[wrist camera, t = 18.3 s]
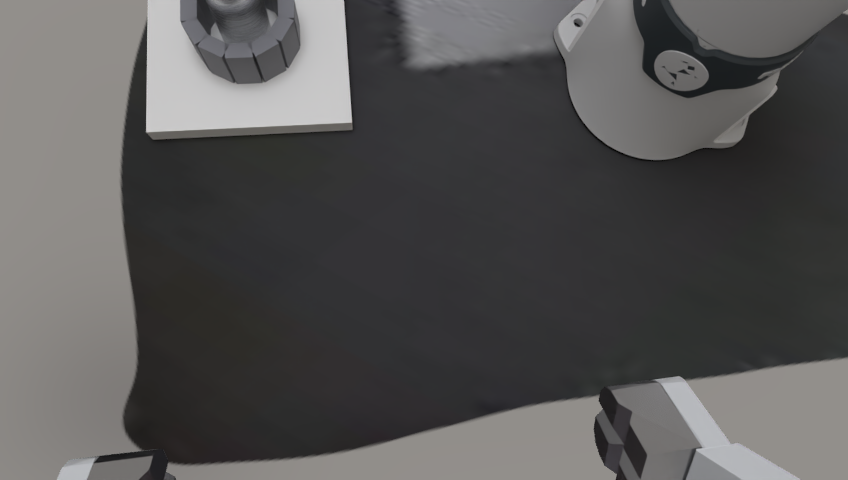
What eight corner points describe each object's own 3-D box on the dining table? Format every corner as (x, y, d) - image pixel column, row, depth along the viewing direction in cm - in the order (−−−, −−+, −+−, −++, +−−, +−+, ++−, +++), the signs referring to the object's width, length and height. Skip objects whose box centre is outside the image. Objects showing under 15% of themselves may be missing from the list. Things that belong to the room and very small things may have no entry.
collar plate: (154, -34, 50) (129, -82, 45) (341, -38, 52) (337, -85, 47) (153, 139, 47) (125, 110, 42) (352, 130, 49) (350, 100, 43)
